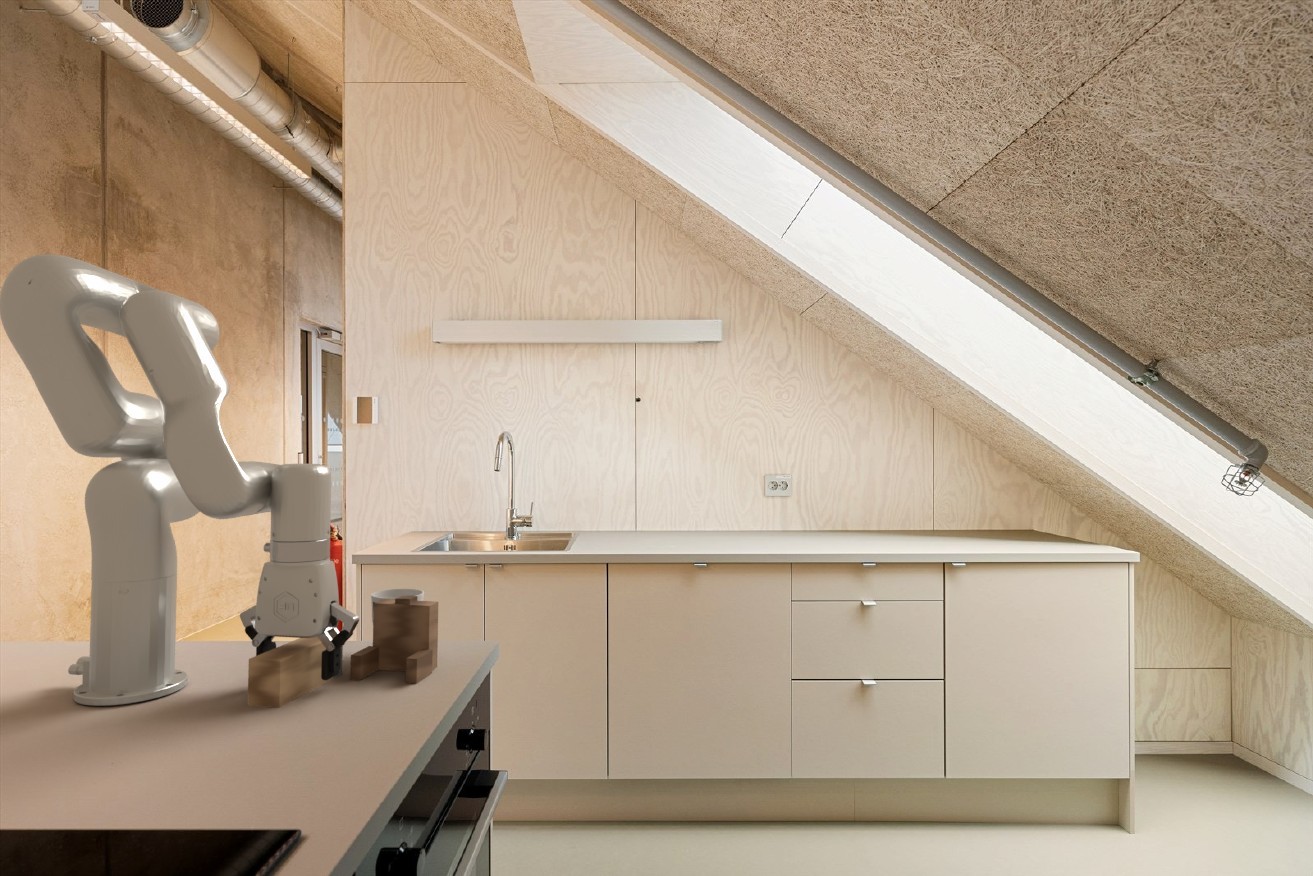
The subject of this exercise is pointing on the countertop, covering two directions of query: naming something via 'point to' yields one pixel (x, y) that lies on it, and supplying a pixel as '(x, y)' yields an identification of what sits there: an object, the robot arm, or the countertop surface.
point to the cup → (395, 595)
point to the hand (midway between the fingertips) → (297, 675)
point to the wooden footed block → (400, 639)
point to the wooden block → (286, 672)
